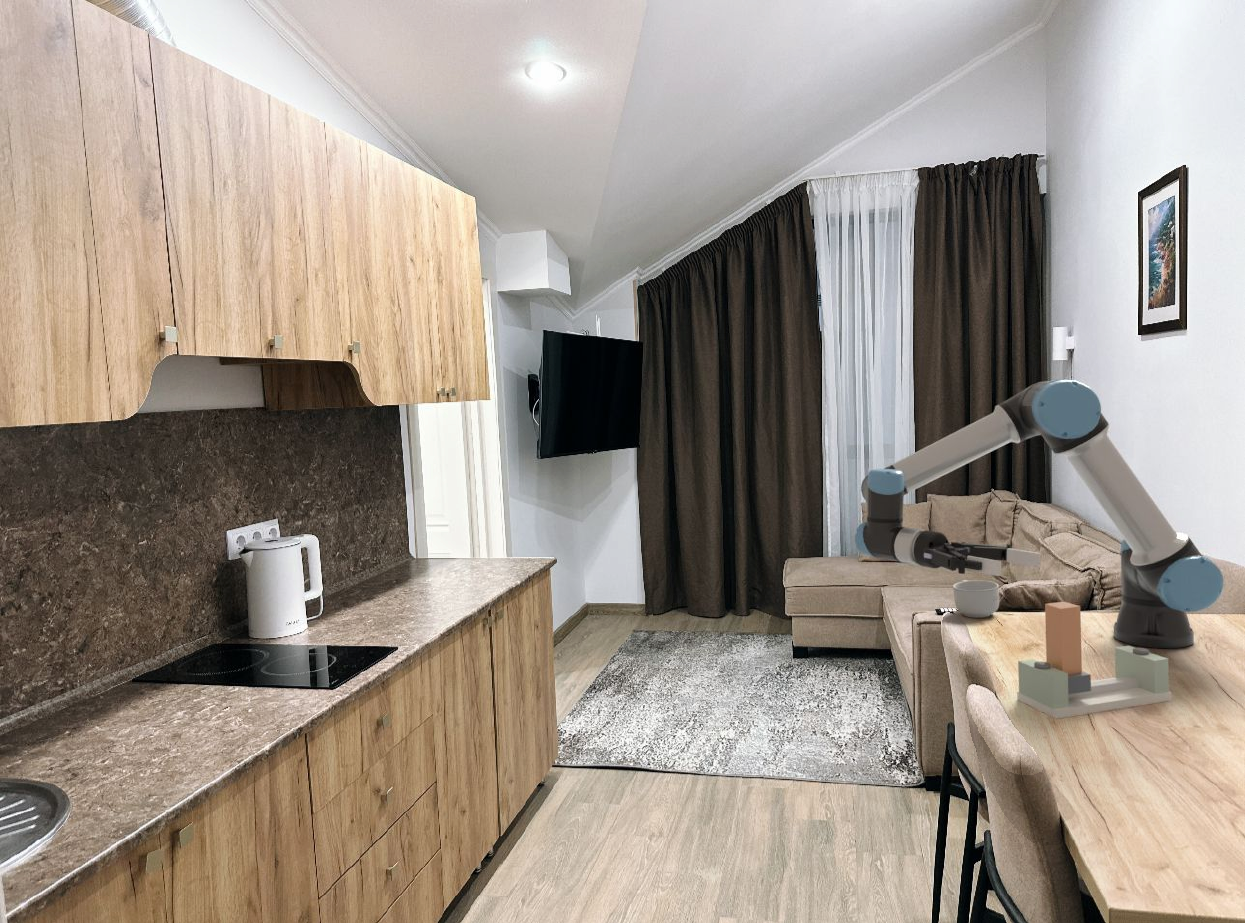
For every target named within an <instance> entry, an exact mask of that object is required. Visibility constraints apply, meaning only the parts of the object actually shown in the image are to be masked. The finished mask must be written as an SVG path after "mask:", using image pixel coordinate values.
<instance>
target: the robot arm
mask: <svg viewBox="0 0 1245 923" xmlns="http://www.w3.org/2000/svg"><path fill="white" fill-rule="evenodd" d="M1109 427H1110V423H1109V422H1108V421H1107V419H1106V417H1105V416H1104V415H1103V413H1102V405H1101V402H1100V399H1099V397H1098V395H1097V393H1096V392H1095V391H1094V390H1093V389H1092V388H1091V387H1089V386H1088V385H1087V384H1084V383H1081V382H1079V381H1077V380H1073V379H1065V378H1064V379H1063V378H1062V379H1054V380H1042V381H1039V382H1037V383H1036V382H1035V383H1034V384H1031V385H1030V386H1028V387H1026V388H1025V389H1023V390H1021V391H1020V392H1018V393H1017V394H1015V395H1014V396H1011V397H1010V398H1008V399H1007V400H1004V401H1003V402H1001V403H999V404H997V405H995V406H994V410H993V412H991V413H990V414H988V415H986V416H983V417H982V418H980V419H978V420H976V421H975V422H973V423H970V424H968V425H966V426H964V427H962V428H960V429H958V430H957V431H955V432H952V433H950V434H949V435H946V436H945V437H942V438H941V439H939V440H937V441H935V442H933V443H931V444H929V445H927V446H925V447H923V448H922V449H920V450H918V451H916V452H914V453H912V454H910V455H908V456H906V457H903V458H902V459H900V460H898V461H896V462H894V463H892V464H890V465H888V466H887V467H884V468H873V469H870V470H869V471H868V474H867V475H866V476H865V477H864V478H863V480H862V481H861V487H860V491H861V495H862V497H863V499H864V500H865V501H866V502H867V504H866V506H867V507H866V511H867V513H866V515H867V516H866V521H864V522H862V523H860V524H859V525H858V526H857V528H856V532H855V534H854V545H855V548H856V549H857V551H858V552H860V553H861V554H863V555H865V556H869V557H871V558H872V557H873V558H875V559H883V560H888V561H892V562H893V561H895V562H898V563H899V562H900V563H904V564H907V565H908V567H913V566H914V565H915V566H916V565H917V566H920V567H923V568H924V567H925V568H929V569H939V568H945V569H948V570H950V571H953V572H954V571H957V570H958V572H957V573H958V574H962V575H965V574H966V571H968V572H974V573H980V574H983V575H984V574H985V575H990V576H997V577H1001V576H1002V561H1005V562H1006V563H1009V564H1015V565H1022V566H1028V567H1034V568H1041V566H1042V565H1041V562H1042V553H1041V552H1037V551H1036V552H1035V551H1028V550H1022V549H1016V548H1013V546H1012V545H1011V544H1009V543H1007V544H1006V545H992V544H984V543H983V544H981V543H972V542H971V543H970V542H965V541H964V542H962V541H961V542H959V541H951V543H950V542H949V540H948V537H947V536H946V535H945V534H944V533H943V532H939V531H934V530H926V529H923V528H922V529H921V528H915V527H908V526H903V522H904V496H905V495H907V494H909V493H912V492H913V491H915V490H918V489H919V488H921V487H923V486H925V485H927V484H929V483H931V482H933V481H935V480H937V479H939V478H941V477H942V476H945V475H947V474H949V473H951V472H954V471H955V470H957V469H960V468H961V467H963V466H966V465H967V464H970V463H971V462H973V461H975V460H977V459H980V458H981V457H983V456H985V455H987V454H990V453H991V452H994V451H995V450H998V449H999V448H1001V447H1004V446H1005V445H1007V444H1009V443H1015V444H1019V443H1021V442H1024V441H1025V440H1028V439H1031V438H1034V437H1036V436H1037V437H1038V436H1041V437H1043V438H1042V439H1044V440H1045V442H1046V443H1047V446H1049V448H1050V449H1051V450H1052V452H1053V453H1054V455H1057V456H1062V457H1066V458H1067V460H1068V462H1070V464H1071V465H1072V466H1073V468H1074V470H1075V471H1076V472H1077V474H1078V475H1079V476H1080V478H1081V479H1082V481H1083V483H1084V484H1085V486H1086V487H1087V488H1088V489H1089V491H1090V492H1091V494H1092V496H1094V498H1095V500H1096V501H1097V502H1098V504H1099V505H1100V507H1101V508H1102V509H1103V511H1104V513H1105V514H1106V515H1107V517H1108V518H1109V519H1110V520H1111V522H1112V524H1113V526H1115V528H1116V530H1117V531H1118V533H1119V534H1120V535H1121V537H1122V538H1123V539H1122V540H1121V542H1120V543H1121V544H1120V551H1119V554H1120V573H1121V574H1120V577H1121V578H1120V579H1121V603H1120V604H1121V605H1120V607H1119V611H1118V615H1117V617H1116V618H1117V619H1116V621H1115V622H1114V624H1113V637H1114V638H1115V639H1116V640H1118V641H1120V642H1122V643H1125V644H1130V645H1134V646H1138V647H1144V648H1154V649H1155V648H1156V649H1175V648H1176V649H1177V648H1186V647H1189V646H1191V645H1193V644H1194V642H1195V640H1194V639H1195V638H1194V637H1195V636H1194V630H1193V628H1192V627H1191V625H1190V620H1189V617H1188V615H1187V613H1196V612H1199V611H1200V612H1201V611H1203V610H1205V609H1208V608H1209V607H1211V606H1212V605H1213V604H1215V603H1216V601H1217V600H1218V599H1219V598H1220V596H1221V595H1222V592H1223V589H1224V575H1223V573H1222V571H1221V569H1220V567H1219V566H1217V564H1216V563H1214V562H1213V560H1211V559H1209V558H1208V557H1205V556H1203V554H1201V552H1200V551H1199V549H1198V548H1197V547H1196V545H1195V543H1194V542H1193V541H1192V539H1191V538H1190V536H1189V535H1188V534H1187V533H1185V532H1181V531H1176V530H1174V528H1173V527H1172V525H1171V524H1170V523H1169V521H1168V520H1167V519H1166V517H1165V515H1164V514H1163V513H1162V511H1161V509H1159V507H1158V505H1157V504H1156V503H1155V501H1154V500H1153V499H1152V497H1151V495H1150V494H1149V493H1148V491H1147V490H1146V489H1145V487H1144V486H1143V484H1142V483H1141V481H1140V480H1139V479H1138V477H1137V476H1136V474H1135V473H1134V472H1133V470H1132V469H1131V467H1130V465H1128V462H1126V460H1125V459H1124V457H1123V456H1122V454H1121V452H1119V450H1118V449H1117V447H1116V446H1115V445H1114V443H1113V442H1112V440H1111V439H1110V437H1109V436H1108V432H1109V431H1108V430H1109Z"/></svg>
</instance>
